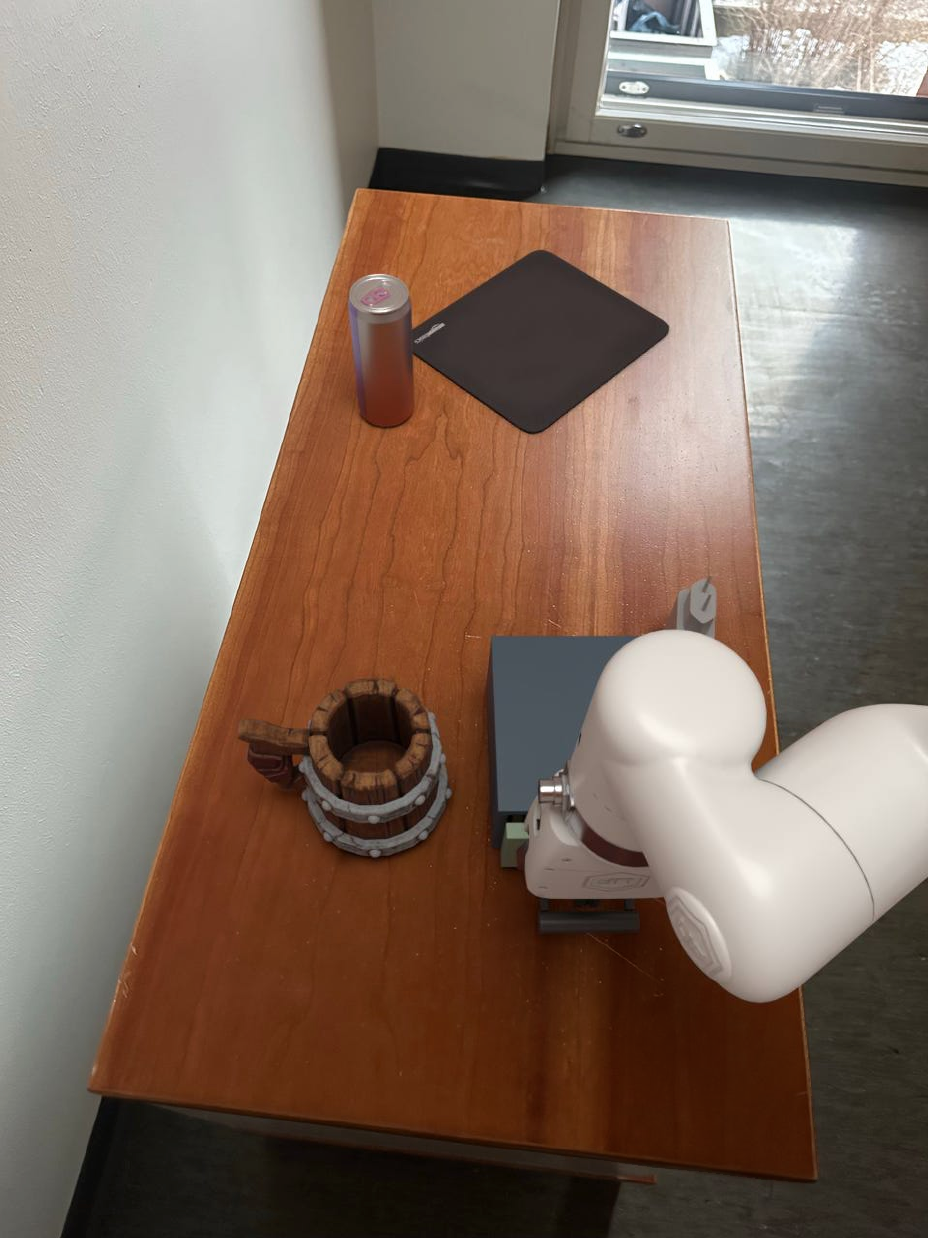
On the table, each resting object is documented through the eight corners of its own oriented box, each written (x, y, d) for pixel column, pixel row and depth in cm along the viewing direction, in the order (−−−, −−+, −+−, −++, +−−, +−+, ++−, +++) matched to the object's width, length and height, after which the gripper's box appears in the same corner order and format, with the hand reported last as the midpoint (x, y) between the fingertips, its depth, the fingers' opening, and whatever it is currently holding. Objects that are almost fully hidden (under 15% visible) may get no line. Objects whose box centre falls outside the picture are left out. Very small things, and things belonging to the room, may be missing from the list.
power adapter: (658, 682, 79) (690, 609, 69) (660, 631, 82) (692, 553, 72) (693, 688, 79) (730, 615, 69) (694, 636, 82) (730, 559, 72)
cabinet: (649, 848, 71) (673, 810, 64) (491, 849, 71) (498, 811, 64) (628, 686, 79) (647, 635, 72) (486, 686, 79) (491, 635, 71)
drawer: (656, 945, 66) (678, 923, 61) (503, 947, 66) (510, 925, 60) (627, 710, 77) (642, 671, 71) (494, 710, 76) (499, 672, 71)
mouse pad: (540, 247, 112) (540, 245, 112) (675, 328, 104) (675, 326, 104) (395, 340, 102) (395, 339, 102) (533, 438, 94) (533, 436, 94)
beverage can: (347, 409, 96) (333, 292, 83) (387, 381, 98) (379, 263, 86) (386, 438, 94) (378, 322, 81) (425, 409, 96) (424, 292, 84)
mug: (464, 862, 70) (430, 793, 57) (288, 876, 71) (216, 812, 59) (459, 726, 76) (427, 636, 64) (297, 741, 78) (234, 657, 65)
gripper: (498, 864, 46) (480, 941, 62) (783, 862, 47) (694, 939, 62) (493, 731, 50) (477, 835, 66) (756, 730, 51) (679, 834, 66)
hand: (583, 886), depth 64 cm, fingers closed
